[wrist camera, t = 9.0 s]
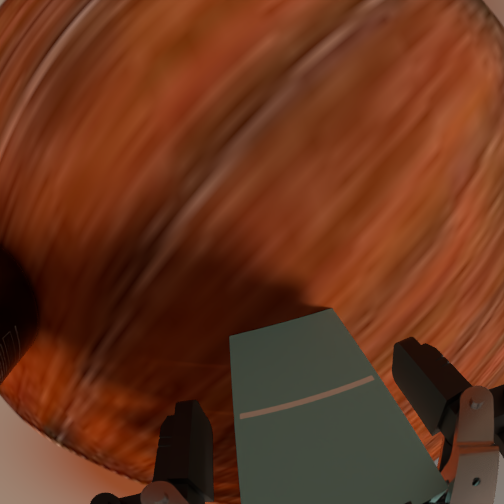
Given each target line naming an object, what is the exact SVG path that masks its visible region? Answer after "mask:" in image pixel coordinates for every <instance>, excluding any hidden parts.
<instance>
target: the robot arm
mask: <svg viewBox="0 0 504 504" xmlns="http://www.w3.org/2000/svg"><path fill="white" fill-rule="evenodd" d="M392 374H393V378H394V380H395V382H396V384H397V385H398V387H399V388H400V389H401V391H402V392H403V394H404V395H405V397H406V398H407V399H408V401H409V402H410V404H411V405H412V407H413V408H414V410H415V411H416V413H417V414H418V416H419V417H420V418H421V420H422V421H423V423H424V424H425V426H426V427H427V429H428V430H429V432H430V433H431V435H432V436H433V435H435V434H437V433H438V432H440V431H441V432H442V434H443V435H444V436H443V439H442V444H441V450H440V456H439V461H438V466H437V468H438V470H439V472H440V473H441V475H442V477H443V478H444V480H445V482H446V483H447V485H448V487H449V488H448V489H447V490H446V492H445V493H444V494H443V495H442V496H441V497H440V498H439V499H438V500H437V501H436V502H427V503H424V504H493V502H494V497H495V491H496V483H497V475H498V466H499V451H500V453H501V454H502V456H503V458H504V385H501V386H498V387H495V388H492V389H489V390H488V389H487V388H485V387H483V386H472V385H471V384H470V383H469V382H468V381H467V380H466V379H465V378H464V377H463V376H462V375H461V374H460V373H459V372H458V370H457V369H456V368H455V367H454V366H453V365H452V364H451V363H449V361H448V360H447V359H446V358H445V357H443V355H442V354H441V353H440V352H439V351H438V350H437V349H436V348H435V347H432V346H430V345H428V344H426V343H425V344H423V345H420V343H419V342H418V341H417V340H416V339H415V338H413V337H409V338H407V339H404V340H402V341H400V342H397V343H395V345H394V352H393V364H392ZM159 437H160V439H159V442H158V449H157V455H156V462H155V469H154V477H153V481H152V483H150V484H148V485H147V486H146V487H145V488H144V489H143V491H142V492H141V493H140V494H136V495H132V496H127V497H123V498H118V497H116V496H114V495H113V494H111V493H101V494H98V495H96V496H95V497H94V498H93V499H92V501H91V503H90V504H205V502H212V501H214V489H213V433H212V427H211V424H210V422H209V420H208V418H207V417H206V415H205V413H204V412H203V410H202V408H201V406H200V405H199V403H198V401H197V400H189V401H182V402H177V403H176V407H175V414H174V415H171V416H167V418H166V419H165V421H164V422H163V424H162V426H161V430H160V436H159ZM494 443H495V444H494ZM405 504H412V503H411V501H409V502H407V503H405Z"/></svg>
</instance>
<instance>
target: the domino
mask: <svg viewBox="0 0 504 504" xmlns="http://www.w3.org/2000/svg"><path fill="white" fill-rule="evenodd" d="M229 341H230V361H231V379H232V395H233V410H234V425H235V438H236V451H237V463H238V475H239V486H240V497H241V504H405V503H407V502H409V501H411V503H412V504H424V503H427V502H436V501H437V500H438V499H439V498H440V497H441V496H442V495H443V494H444V493H445V492H446V490H447V489H448V488H449V487H448V485H447V483H446V482H445V480H444V478H443V477H442V475H441V473H440V472H439V470H438V468H437V467H436V465H435V463H434V462H433V460H432V458H431V457H430V455H429V453H428V452H427V450H426V449H425V447H424V445H423V444H422V442H421V440H420V439H419V437H418V436H417V434H416V432H415V431H414V429H413V428H412V426H411V425H410V423H409V421H408V420H407V418H406V417H405V415H404V414H403V412H402V411H401V409H400V407H399V406H398V404H397V403H396V401H395V400H394V398H393V397H392V395H391V394H390V392H389V391H388V389H387V388H386V386H385V385H384V383H383V382H382V380H381V379H380V377H379V376H378V374H377V373H376V371H375V370H374V368H373V367H372V365H371V364H370V362H369V361H368V359H367V358H366V356H365V355H364V353H363V352H362V350H361V349H360V348H359V346H358V345H357V343H356V342H355V340H354V339H353V337H352V336H351V335H350V333H349V332H348V330H347V329H346V327H345V326H344V324H343V323H342V322H341V320H340V319H339V317H338V316H337V315H336V313H335V312H334V310H333V309H332V308H330V309H327V310H324V311H321V312H317V313H314V314H311V315H307V316H304V317H300V318H297V319H293V320H290V321H286V322H283V323H279V324H275V325H271V326H268V327H264V328H260V329H256V330H252V331H248V332H244V333H240V334H236V335H231V336H229Z"/></svg>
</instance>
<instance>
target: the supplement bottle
mask: <svg viewBox="0 0 504 504" xmlns="http://www.w3.org/2000/svg"><path fill="white" fill-rule="evenodd" d="M38 326H39V319H38V310H37V305H36V301H35V298H34V294H33V292H32V289H31V287H30V284H29V282H28V280H27V278H26V276H25V274H24V273H23V271H22V269H21V268H20V266H19V265H18V263H17V262H16V261H15V260H14V258H13V257H12V256H11V255H10V254H9V253H8V252H7V251H6V250H5V249H3V248H2V247H0V385H1V384H2V382H3V381H4V380H5V378H6V377H7V376H8V374H9V373H10V372H11V371H12V369H13V368H14V367H15V366H16V364H17V363H18V362H19V361H20V359H21V358H22V357H23V356H24V354H25V353H26V352H27V351H28V349H29V348H30V347H31V346H32V344H33V343H34V341H35V339H36V336H37V333H38Z"/></svg>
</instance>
